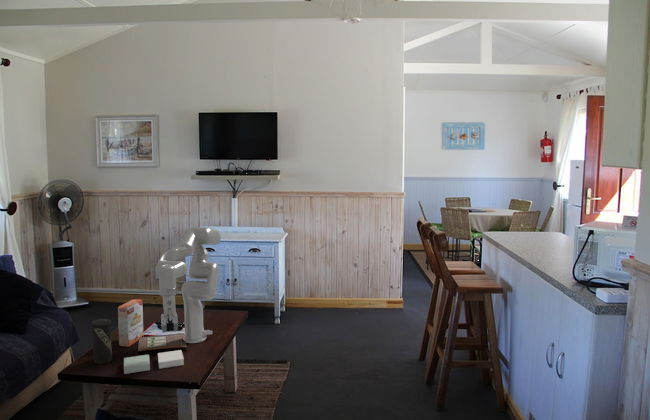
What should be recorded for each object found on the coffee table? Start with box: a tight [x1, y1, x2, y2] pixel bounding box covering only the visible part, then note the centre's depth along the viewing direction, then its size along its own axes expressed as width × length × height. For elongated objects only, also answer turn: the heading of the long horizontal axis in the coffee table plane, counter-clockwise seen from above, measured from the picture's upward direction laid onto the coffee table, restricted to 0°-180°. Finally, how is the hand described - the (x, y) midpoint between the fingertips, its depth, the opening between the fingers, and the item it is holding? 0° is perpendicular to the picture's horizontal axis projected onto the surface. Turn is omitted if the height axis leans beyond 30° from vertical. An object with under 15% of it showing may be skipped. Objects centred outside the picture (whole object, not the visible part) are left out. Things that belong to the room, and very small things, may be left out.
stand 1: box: [123, 354, 151, 375], centre depth 231 cm, size 11×11×3 cm
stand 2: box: [157, 349, 185, 369], centre depth 237 cm, size 11×11×3 cm
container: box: [90, 318, 113, 365], centre depth 237 cm, size 9×9×20 cm
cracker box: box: [117, 298, 144, 348], centre depth 260 cm, size 14×6×21 cm, turn 168°
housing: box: [160, 312, 179, 333], centre depth 235 cm, size 7×6×8 cm
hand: (169, 327), depth 235 cm, fingers closed on housing, 5 cm apart
